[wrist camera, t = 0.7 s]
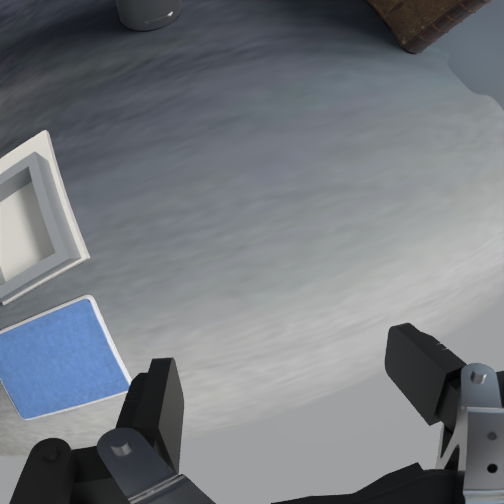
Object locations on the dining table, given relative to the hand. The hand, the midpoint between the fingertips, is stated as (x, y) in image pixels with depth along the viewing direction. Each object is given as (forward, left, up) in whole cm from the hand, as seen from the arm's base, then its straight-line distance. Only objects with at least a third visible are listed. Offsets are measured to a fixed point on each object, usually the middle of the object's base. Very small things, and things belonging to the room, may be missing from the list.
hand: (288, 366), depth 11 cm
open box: (-18, -19, -25) cm, 36 cm away
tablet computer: (0, -23, -26) cm, 35 cm away
